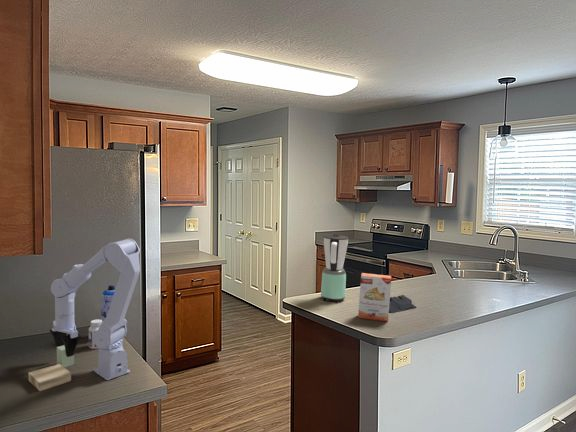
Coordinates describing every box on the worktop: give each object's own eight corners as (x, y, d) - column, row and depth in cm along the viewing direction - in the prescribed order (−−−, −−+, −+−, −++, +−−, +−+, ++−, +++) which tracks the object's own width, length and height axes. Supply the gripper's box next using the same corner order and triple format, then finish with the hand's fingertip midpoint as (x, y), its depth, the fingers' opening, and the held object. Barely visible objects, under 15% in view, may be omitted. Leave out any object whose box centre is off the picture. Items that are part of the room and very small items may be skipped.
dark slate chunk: (368, 306, 224) (368, 297, 223) (396, 300, 236) (397, 292, 236) (391, 315, 211) (391, 305, 211) (419, 308, 224) (420, 299, 224)
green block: (74, 364, 145) (74, 347, 144) (61, 368, 142) (61, 350, 141) (69, 360, 148) (68, 343, 147) (56, 364, 144) (56, 347, 144)
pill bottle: (106, 343, 163) (106, 318, 162) (101, 349, 157) (101, 323, 156) (92, 343, 162) (92, 318, 161) (86, 349, 157) (85, 323, 156)
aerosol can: (97, 334, 171) (97, 285, 169) (117, 329, 177) (116, 282, 175) (105, 340, 166) (105, 289, 164) (125, 335, 171) (125, 286, 169)
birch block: (71, 382, 134) (71, 372, 134) (39, 392, 127) (39, 382, 127) (59, 372, 140) (59, 363, 140) (28, 381, 133) (28, 372, 133)
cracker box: (357, 318, 203) (360, 275, 201) (358, 314, 209) (361, 272, 206) (388, 322, 200) (391, 278, 197) (388, 318, 205) (391, 275, 203)
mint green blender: (322, 293, 241) (325, 232, 238) (346, 296, 239) (349, 233, 235) (318, 303, 223) (321, 237, 219) (344, 306, 220) (347, 239, 217)
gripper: (43, 310, 144) (43, 349, 146) (61, 321, 135) (61, 363, 137) (65, 306, 150) (65, 343, 151) (84, 316, 141) (84, 356, 142)
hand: (65, 352), depth 144 cm, fingers open, 7 cm apart
